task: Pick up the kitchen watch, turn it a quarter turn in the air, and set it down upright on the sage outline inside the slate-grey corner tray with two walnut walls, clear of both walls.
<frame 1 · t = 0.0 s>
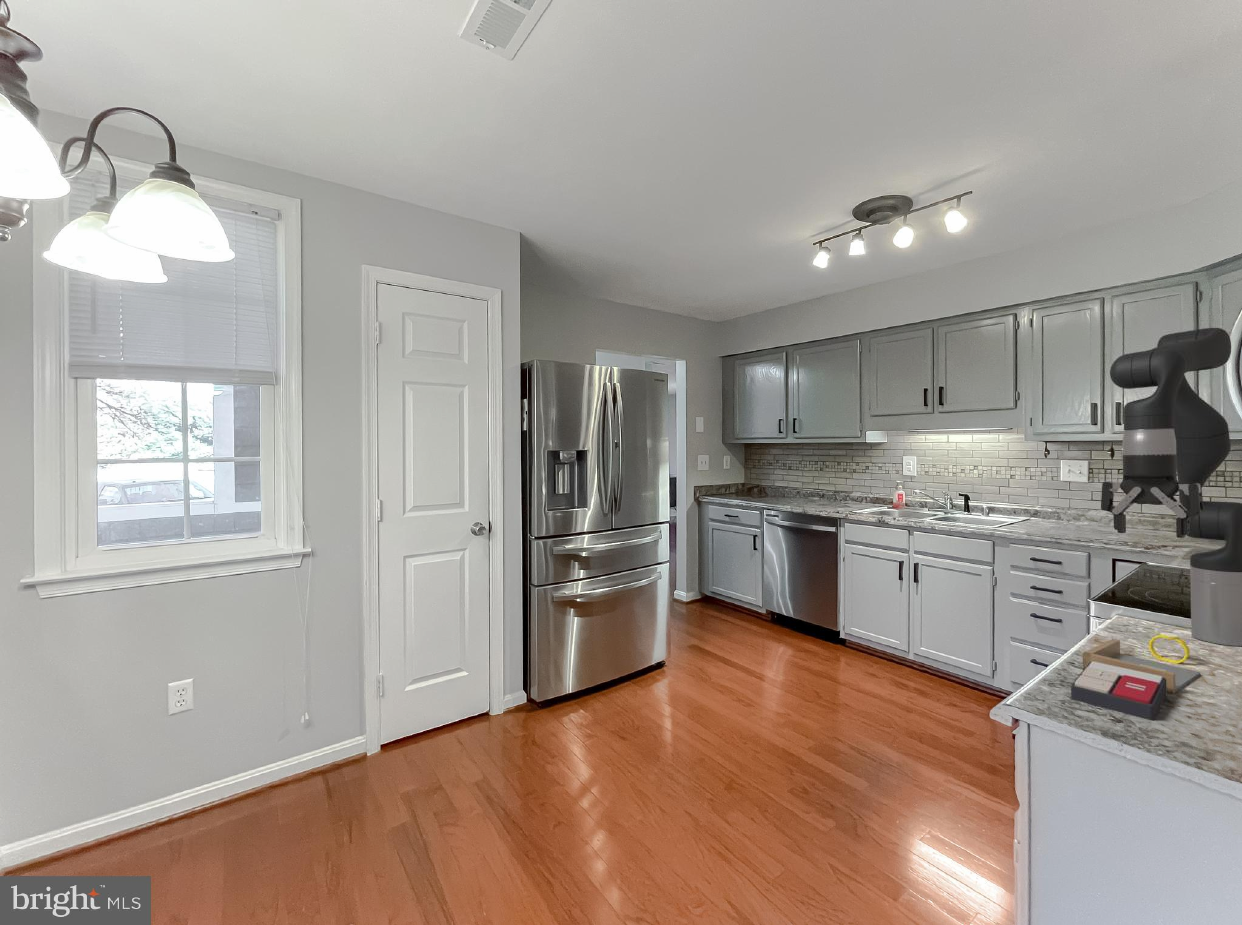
hand: (1150, 535, 105), 29 cm above the counter, tool pointing down, fingers open, 8 cm apart
corner tray: (1140, 672, 110), on the counter
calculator: (1119, 700, 99), on the counter
watch: (1169, 662, 116), on the counter
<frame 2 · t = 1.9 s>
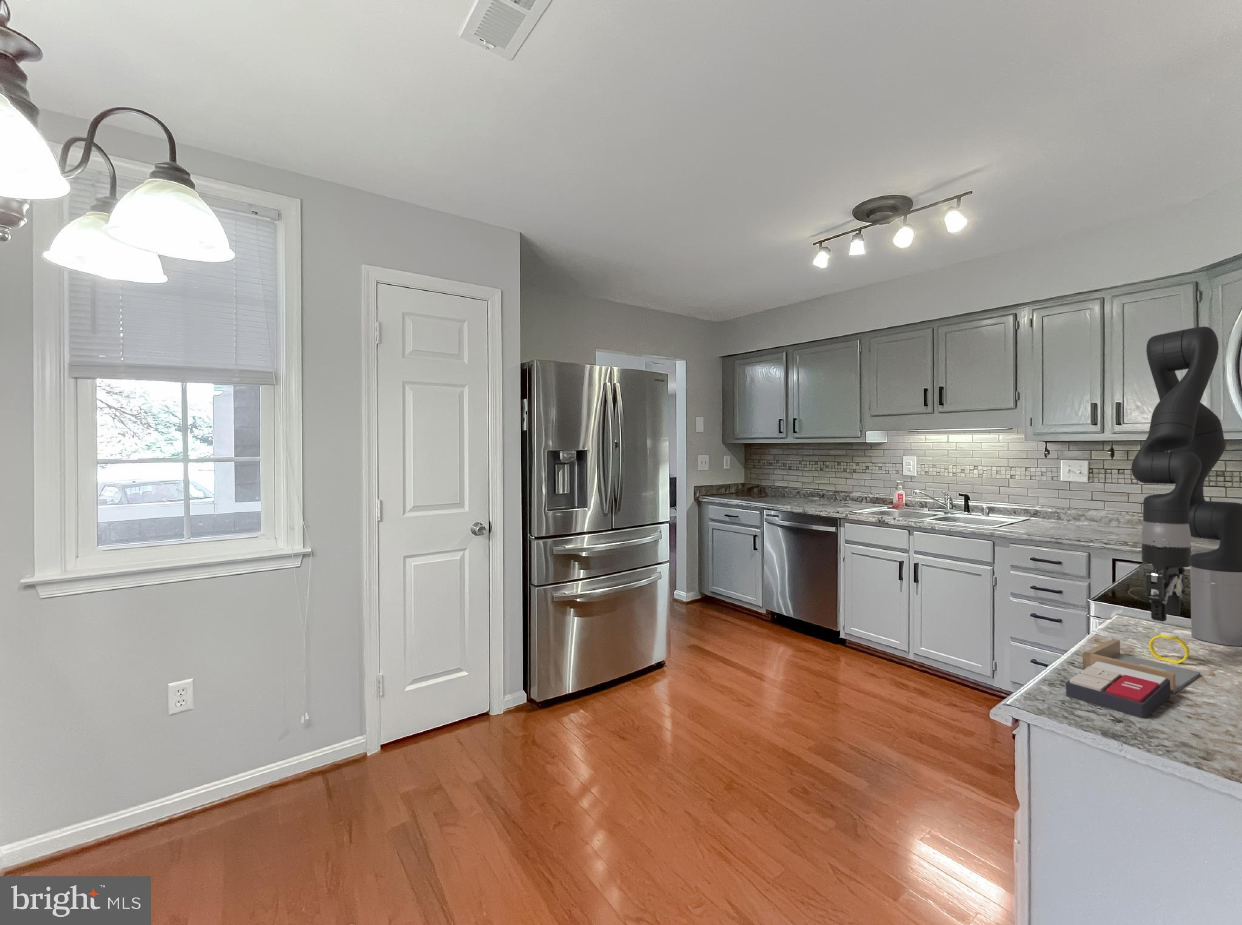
hand: (1165, 617, 116), 9 cm above the counter, tool pointing down, fingers open, 8 cm apart
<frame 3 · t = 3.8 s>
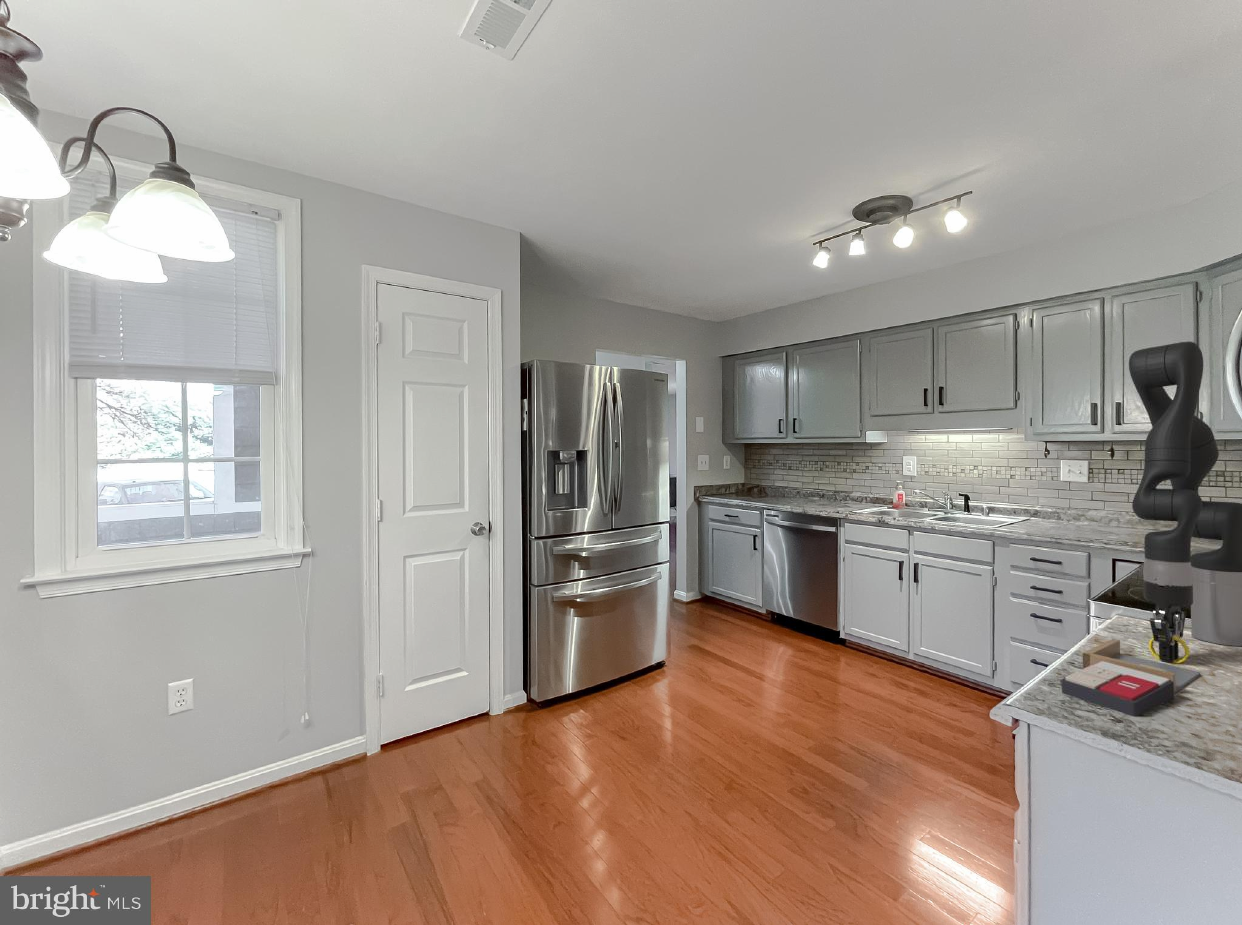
hand: (1168, 659, 116), 0 cm above the counter, tool pointing down, fingers closed on watch, 2 cm apart
watch: (1168, 661, 116), on the counter, touching gripper
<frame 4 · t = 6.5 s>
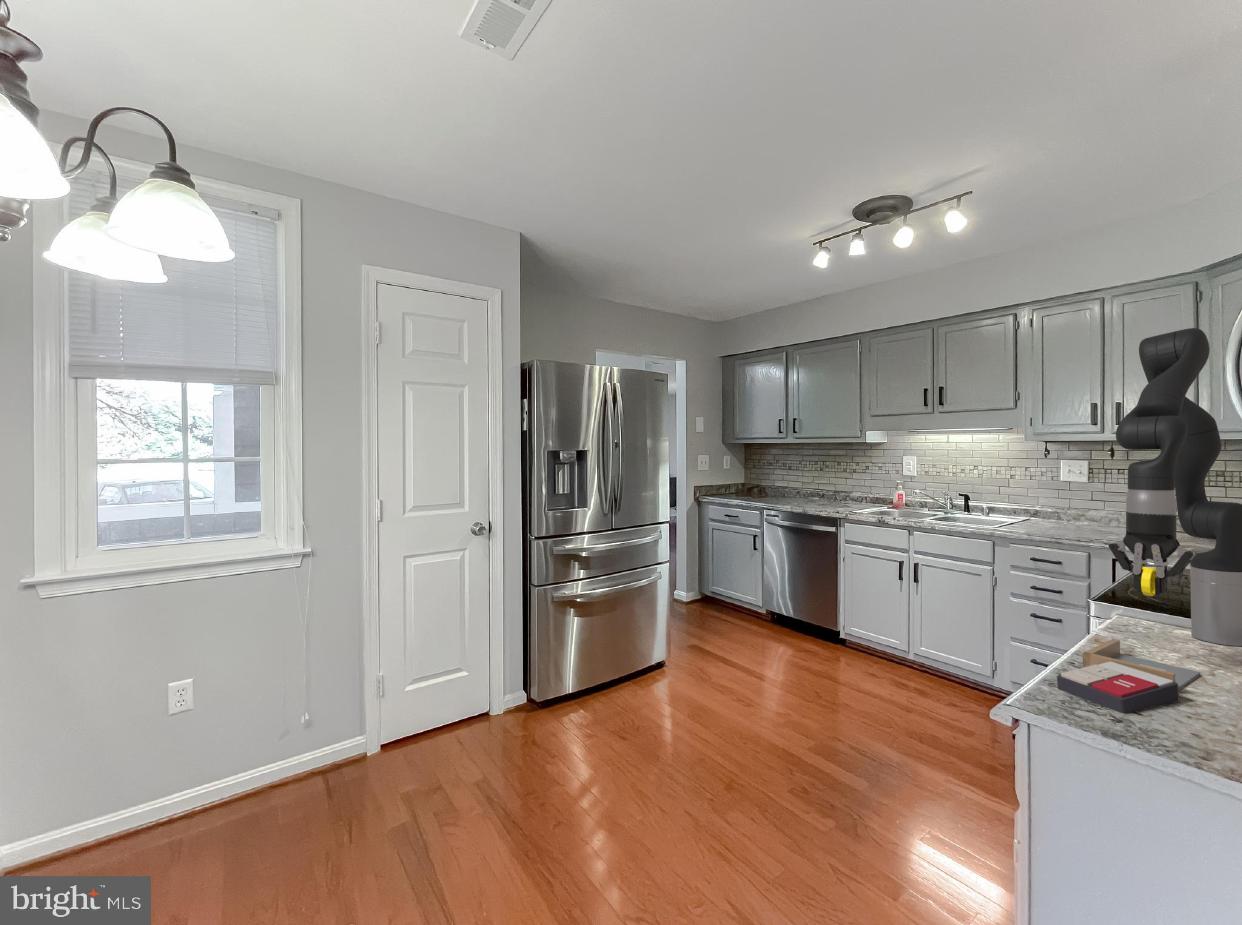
hand: (1150, 593, 112), 16 cm above the counter, tool pointing down, fingers closed on watch
watch: (1150, 595, 112), point 15 cm above the counter, touching gripper
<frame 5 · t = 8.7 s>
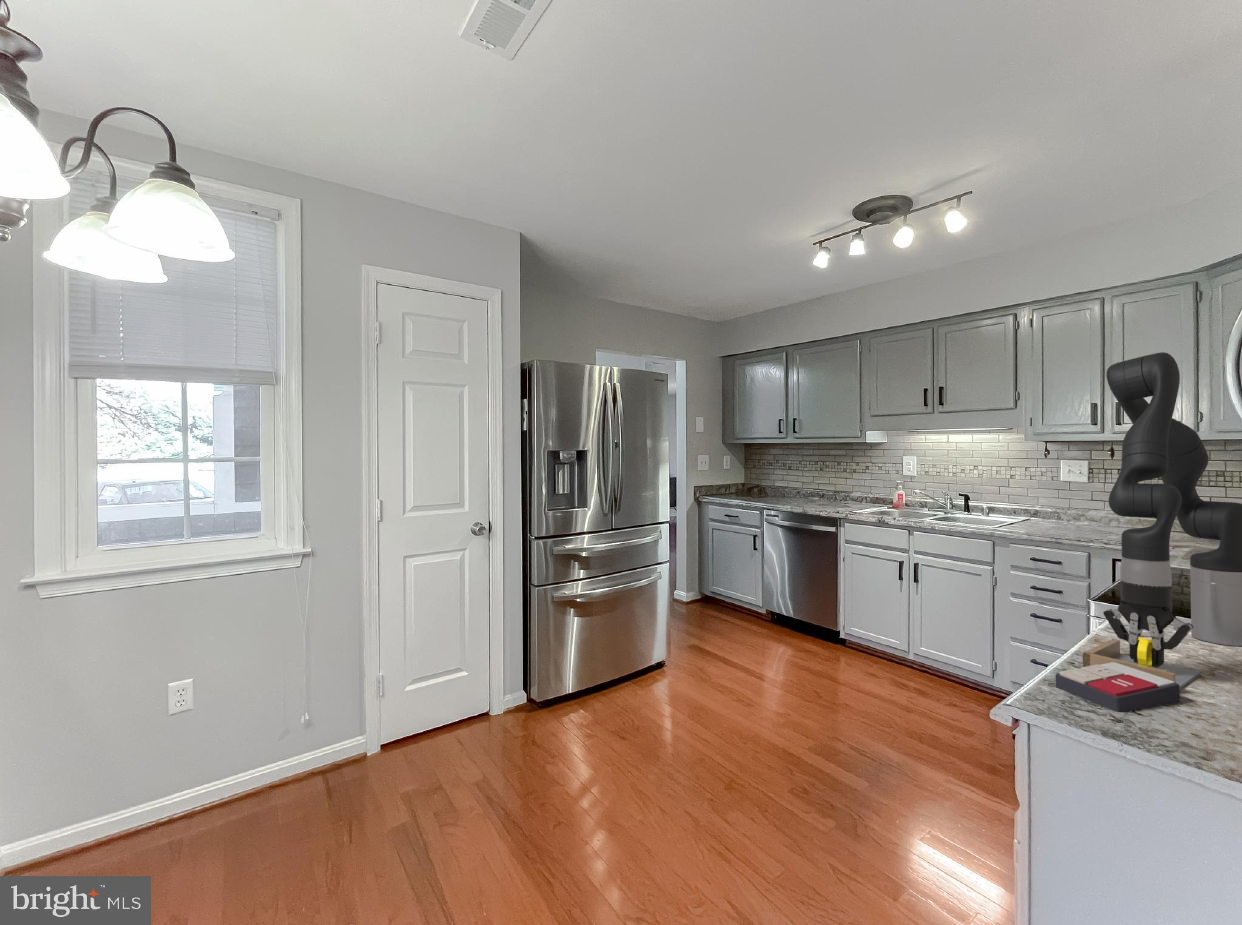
hand: (1146, 664, 109), 2 cm above the counter, tool pointing down, fingers closed on watch, 2 cm apart
watch: (1146, 666, 109), point 2 cm above the counter, touching gripper
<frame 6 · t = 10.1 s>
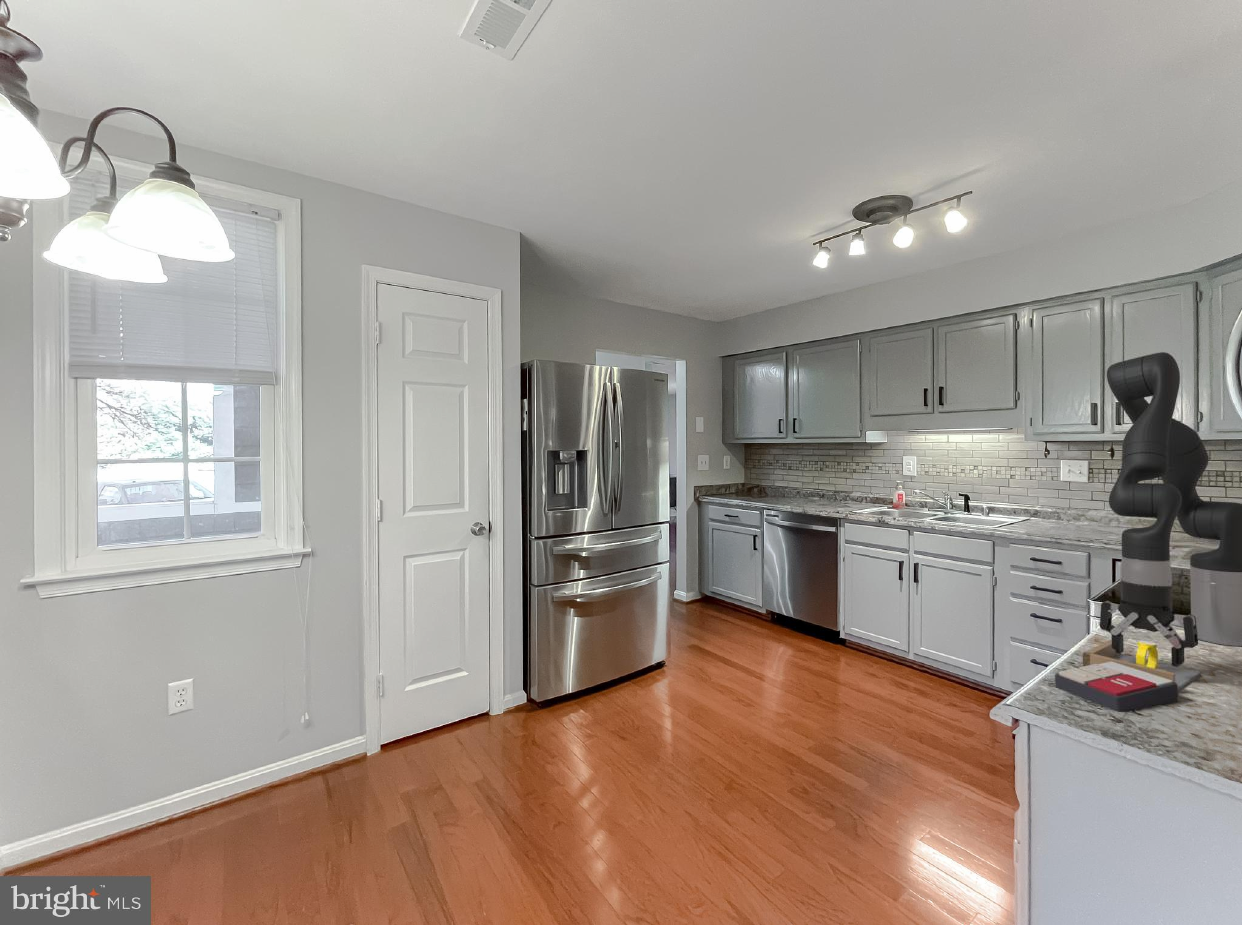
hand: (1146, 658, 109), 3 cm above the counter, tool pointing down, fingers open, 8 cm apart
watch: (1147, 671, 109), resting in corner tray
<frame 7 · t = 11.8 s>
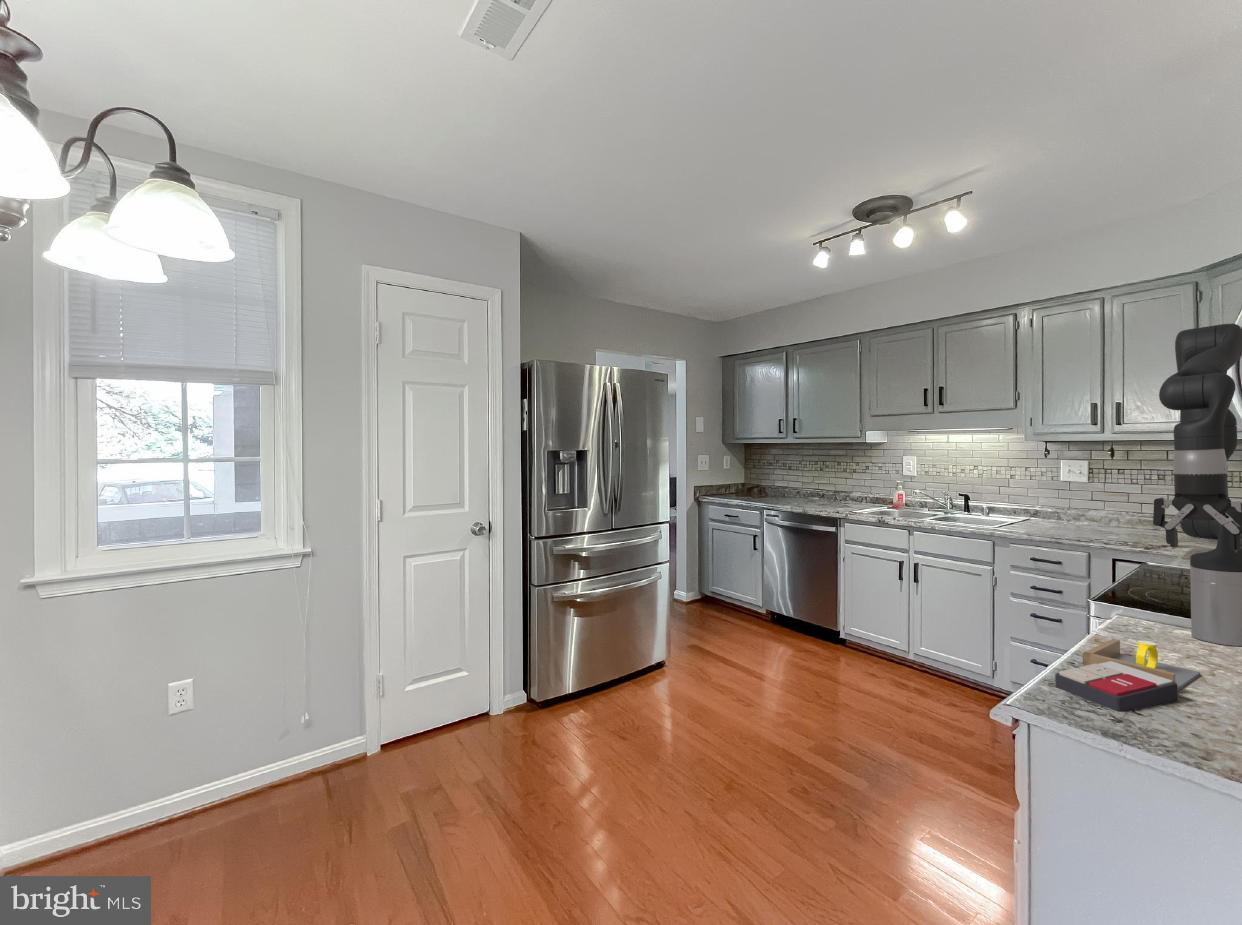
hand: (1203, 549, 110), 25 cm above the counter, tool pointing down, fingers open, 8 cm apart
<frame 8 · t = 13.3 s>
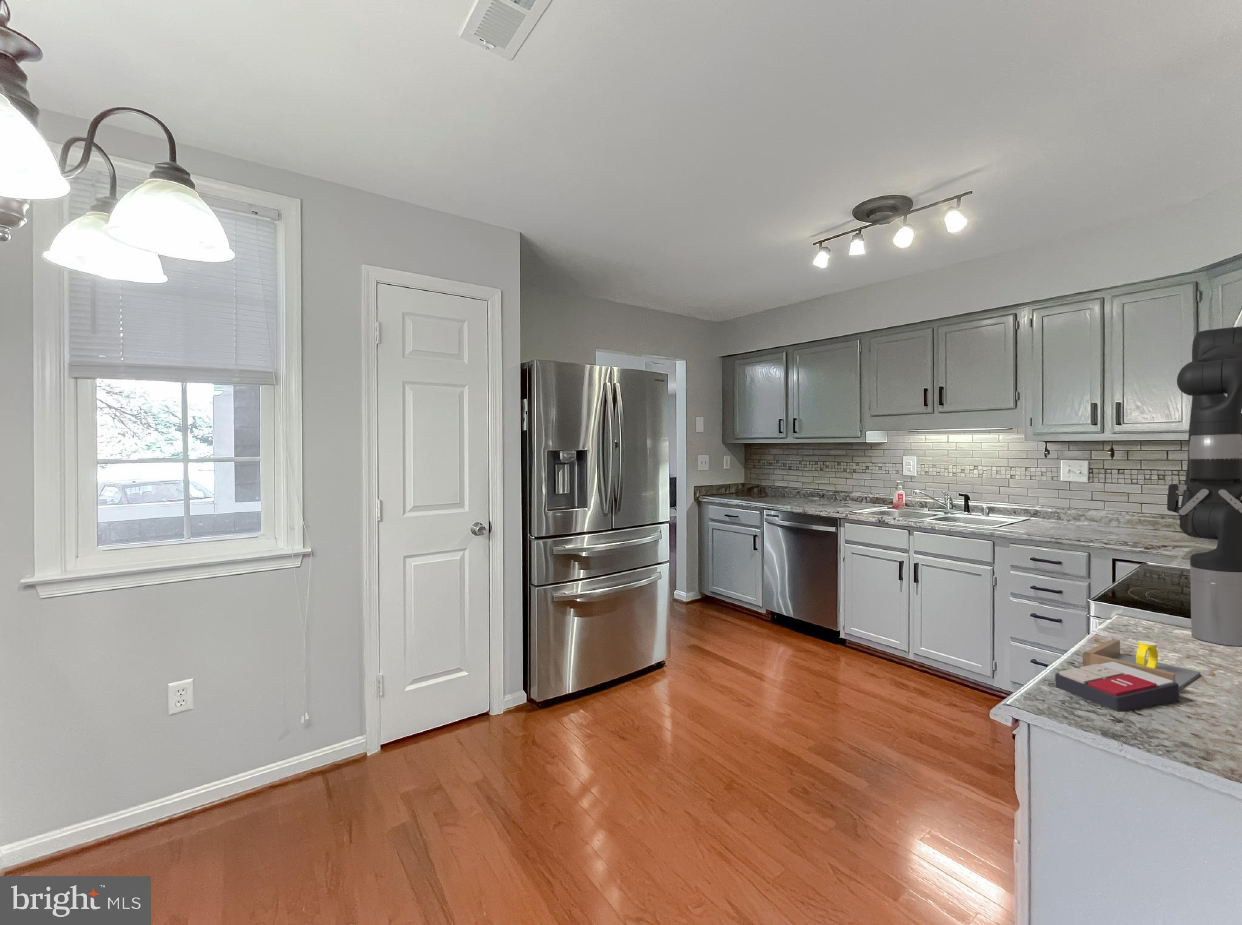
hand: (1217, 534, 110), 28 cm above the counter, tool pointing down, fingers open, 8 cm apart
at the end: watch 0.1 cm from the target spot on the corner tray, point 0.4 cm above the corner tray's base; watch tilted 0°; the gripper is holding nothing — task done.
